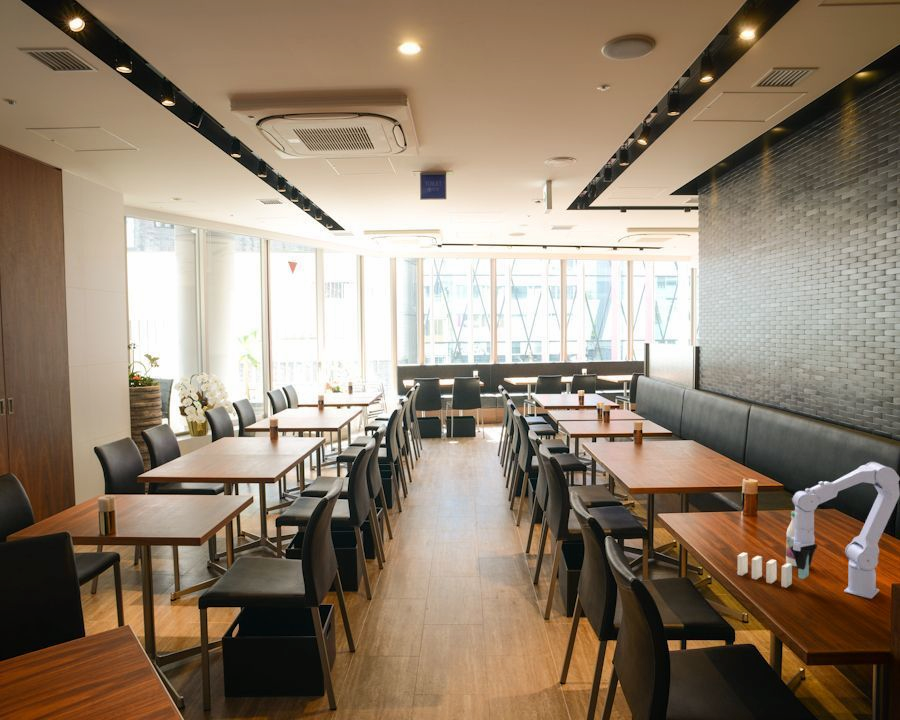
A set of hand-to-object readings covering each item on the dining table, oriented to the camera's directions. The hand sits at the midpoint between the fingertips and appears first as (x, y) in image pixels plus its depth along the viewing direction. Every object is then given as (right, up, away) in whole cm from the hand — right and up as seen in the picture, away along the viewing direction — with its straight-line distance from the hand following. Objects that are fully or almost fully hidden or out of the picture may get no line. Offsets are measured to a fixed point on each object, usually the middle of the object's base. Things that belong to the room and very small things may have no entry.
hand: (803, 566), depth 211 cm
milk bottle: (+11, -7, +24) cm, 27 cm away
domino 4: (-4, -8, +4) cm, 10 cm away
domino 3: (-7, -8, +8) cm, 13 cm away
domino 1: (-14, -8, +15) cm, 22 cm away
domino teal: (0, -3, 0) cm, 3 cm away
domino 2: (-10, -8, +12) cm, 17 cm away
